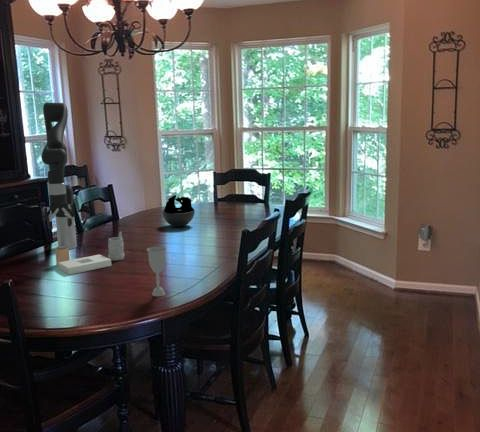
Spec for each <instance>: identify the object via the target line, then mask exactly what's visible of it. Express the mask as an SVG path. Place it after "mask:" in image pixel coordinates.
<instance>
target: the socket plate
mask: <svg viewBox="0 0 480 432" xmlns="http://www.w3.org/2000/svg"><path fill="white" fill-rule="evenodd" d="M58 264H59V266H58V269H59V270H60V271H62V272H64V273H65V274H67V275H74V274H80V273H85V272H90V271H94V270H98V269H103V268H108V267H112V260H111V259H109V257H108V256H104V255H102V254H95V255H90V256H84V257H79V258H75V259H70V260H68V261H63V262H58Z"/></svg>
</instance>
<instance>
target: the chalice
mask: <svg viewBox="0 0 480 432" xmlns="http://www.w3.org/2000/svg"><path fill="white" fill-rule="evenodd" d="M166 249H167V247H164V246H152V247H148V248H146V251H147V255H148V257H147V258H148V263H149V266H150V268H151V269H152V271H153V272H154V273H155V274H156V275H155V279H156V281H155V283H156V287H155V288H154V289H153V291H152V293H151V296H153V297H162V296H163V297H164V296H165V295H166V292H165V290H164V289H163V287H161V286H160V283H161V281H160V278H161V276H160V273H161V272H162V270H163V268H164V266H165V263H166Z"/></svg>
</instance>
